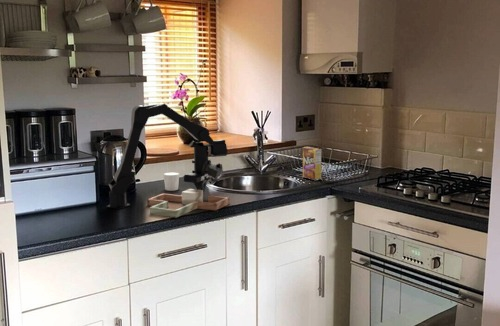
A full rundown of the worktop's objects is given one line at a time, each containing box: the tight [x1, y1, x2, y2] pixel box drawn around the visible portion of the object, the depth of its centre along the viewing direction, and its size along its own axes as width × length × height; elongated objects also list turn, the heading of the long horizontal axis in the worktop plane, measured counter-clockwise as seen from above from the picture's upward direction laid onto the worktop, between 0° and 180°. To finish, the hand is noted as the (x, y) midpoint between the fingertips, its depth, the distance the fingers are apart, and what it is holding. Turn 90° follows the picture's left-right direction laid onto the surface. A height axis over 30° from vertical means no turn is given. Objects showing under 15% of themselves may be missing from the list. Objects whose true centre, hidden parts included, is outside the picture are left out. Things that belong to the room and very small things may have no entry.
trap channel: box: [146, 192, 230, 218], centre depth 216 cm, size 26×28×2 cm
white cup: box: [163, 171, 180, 192], centre depth 247 cm, size 7×7×7 cm
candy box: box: [302, 146, 322, 179], centre depth 264 cm, size 9×4×15 cm, turn 36°
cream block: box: [181, 188, 204, 206], centre depth 223 cm, size 6×6×5 cm
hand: (201, 195), depth 230 cm, fingers closed
